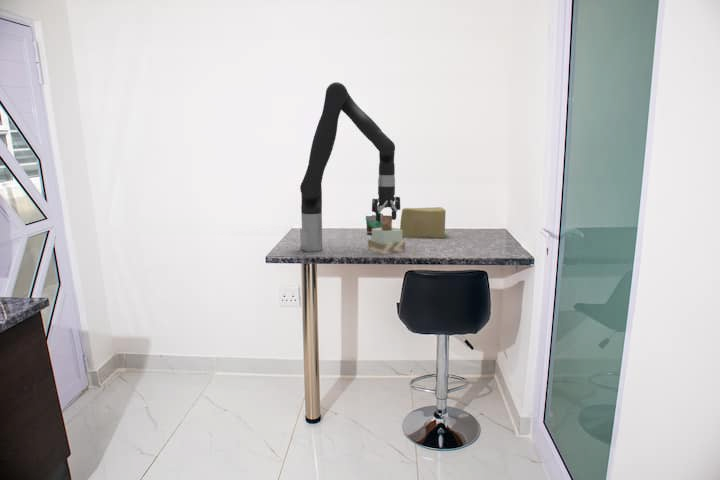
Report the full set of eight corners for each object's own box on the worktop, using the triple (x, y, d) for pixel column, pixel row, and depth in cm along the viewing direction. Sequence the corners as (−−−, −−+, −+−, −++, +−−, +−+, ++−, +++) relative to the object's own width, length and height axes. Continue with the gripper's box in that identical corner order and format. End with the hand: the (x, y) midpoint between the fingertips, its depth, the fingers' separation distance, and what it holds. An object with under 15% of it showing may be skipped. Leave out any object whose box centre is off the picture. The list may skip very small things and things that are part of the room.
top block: (383, 243, 225) (384, 232, 224) (371, 239, 233) (371, 228, 232) (402, 241, 230) (402, 230, 229) (389, 237, 238) (389, 226, 237)
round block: (385, 230, 228) (385, 217, 227) (379, 229, 232) (379, 216, 230) (393, 229, 230) (394, 216, 229) (387, 227, 234) (387, 215, 233)
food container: (375, 236, 261) (375, 217, 259) (365, 234, 265) (365, 215, 263) (388, 232, 271) (388, 213, 268) (379, 230, 274) (379, 212, 272)
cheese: (401, 239, 254) (402, 209, 251) (398, 235, 264) (399, 206, 260) (445, 238, 256) (446, 209, 253) (440, 234, 265) (441, 206, 262)
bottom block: (383, 255, 225) (383, 244, 223) (368, 250, 234) (368, 239, 233) (404, 251, 231) (405, 241, 230) (389, 246, 241) (389, 236, 240)
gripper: (378, 186, 220) (378, 223, 223) (404, 184, 228) (403, 220, 231) (368, 185, 226) (368, 220, 230) (394, 183, 234) (393, 217, 237)
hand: (386, 220), depth 230 cm, fingers open, 8 cm apart
